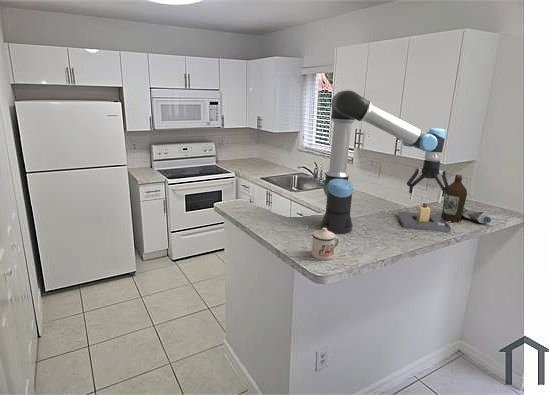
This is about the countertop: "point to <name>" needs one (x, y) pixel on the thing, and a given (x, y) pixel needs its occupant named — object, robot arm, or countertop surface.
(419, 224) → the socket plate
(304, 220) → the countertop surface
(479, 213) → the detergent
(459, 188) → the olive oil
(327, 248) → the teacup with lid
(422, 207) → the plug
